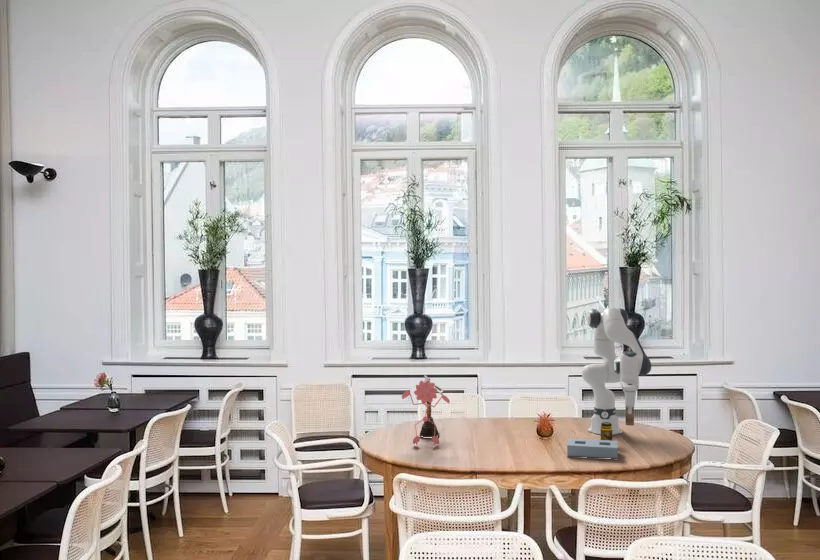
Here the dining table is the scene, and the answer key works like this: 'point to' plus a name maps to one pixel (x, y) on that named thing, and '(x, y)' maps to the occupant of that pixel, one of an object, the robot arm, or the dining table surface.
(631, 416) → the walnut pin
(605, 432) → the condiment
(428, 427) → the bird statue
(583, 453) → the bore block
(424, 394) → the pink flower figurine
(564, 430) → the dining table surface
